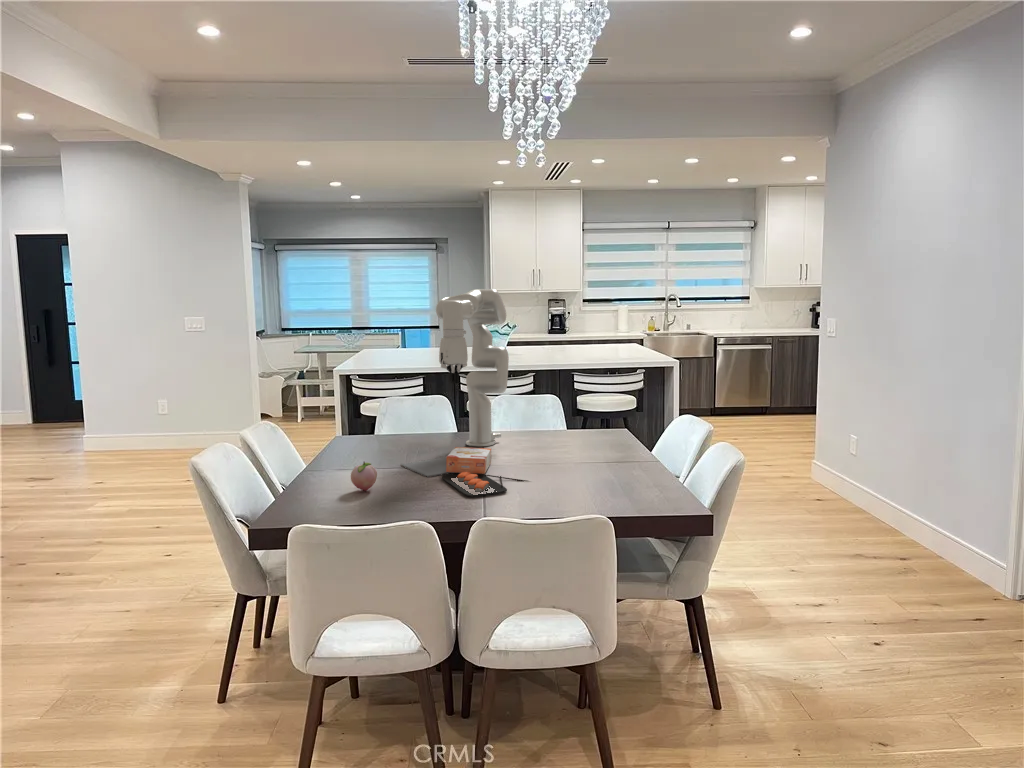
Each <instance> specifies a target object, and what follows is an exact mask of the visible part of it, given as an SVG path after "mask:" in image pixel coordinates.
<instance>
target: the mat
mask: <svg viewBox="0 0 1024 768" xmlns="http://www.w3.org/2000/svg"><path fill="white" fill-rule="evenodd" d="M446 457H447V456H443V457H437V458H432V459H431V458H430V459H425V460H419V461H412V462H406V463H405V462H404V463H400V466H401V465H402V466H404V467H403V468H405V467H406V469H407V468H408V470H409V469H410V470H409V471H412V470H413V471H412V472H414V471H415V472H414V473H416V472H417V473H416V474H418V475H421V474H422V475H421V476H423V475H424V476H423V477H425V476H427V477H426V478H431V477H430V476H434V477H437V476H436V475H439V476H442V475H441V474H445V475H447V473H451V474H454V473H453V472H446ZM402 466H401V467H402Z"/></svg>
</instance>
